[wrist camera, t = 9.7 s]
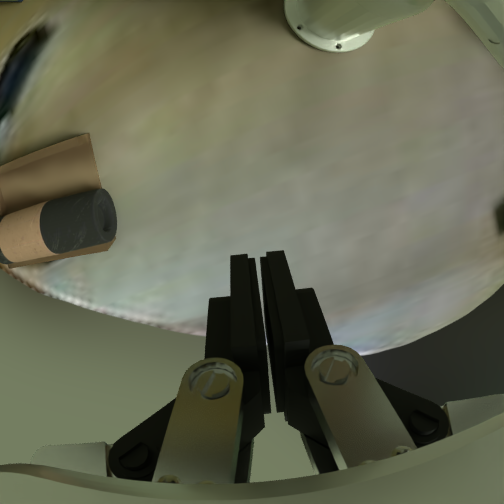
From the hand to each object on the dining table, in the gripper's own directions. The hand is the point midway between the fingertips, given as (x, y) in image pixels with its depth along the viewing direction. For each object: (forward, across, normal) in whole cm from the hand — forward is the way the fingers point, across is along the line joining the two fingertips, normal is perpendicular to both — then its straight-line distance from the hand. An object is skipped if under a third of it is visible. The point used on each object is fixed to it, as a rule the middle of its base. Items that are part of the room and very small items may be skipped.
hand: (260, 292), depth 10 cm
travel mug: (+28, +18, +6) cm, 34 cm away
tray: (+32, +30, +4) cm, 44 cm away
